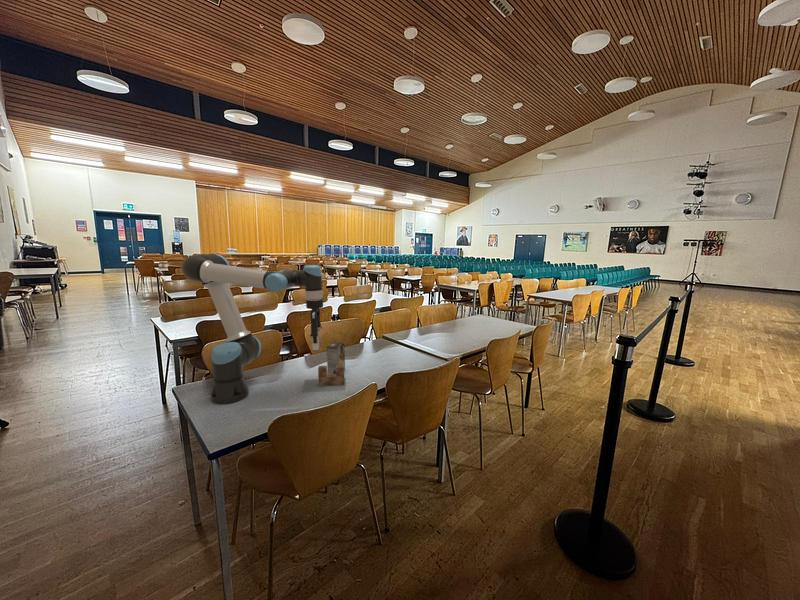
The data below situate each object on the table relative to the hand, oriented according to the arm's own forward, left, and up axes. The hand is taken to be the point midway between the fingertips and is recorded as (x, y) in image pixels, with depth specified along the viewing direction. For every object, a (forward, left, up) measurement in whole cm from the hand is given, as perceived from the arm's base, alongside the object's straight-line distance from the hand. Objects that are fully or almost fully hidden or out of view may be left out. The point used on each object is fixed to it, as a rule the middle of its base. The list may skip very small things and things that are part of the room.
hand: (317, 346), depth 156 cm
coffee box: (+8, +15, -21) cm, 27 cm away
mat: (+3, 0, -21) cm, 21 cm away
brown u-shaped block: (+6, 0, -20) cm, 20 cm away
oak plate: (0, 0, -1) cm, 1 cm away
